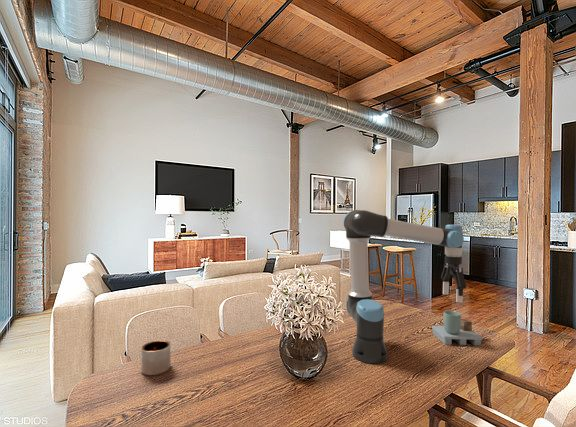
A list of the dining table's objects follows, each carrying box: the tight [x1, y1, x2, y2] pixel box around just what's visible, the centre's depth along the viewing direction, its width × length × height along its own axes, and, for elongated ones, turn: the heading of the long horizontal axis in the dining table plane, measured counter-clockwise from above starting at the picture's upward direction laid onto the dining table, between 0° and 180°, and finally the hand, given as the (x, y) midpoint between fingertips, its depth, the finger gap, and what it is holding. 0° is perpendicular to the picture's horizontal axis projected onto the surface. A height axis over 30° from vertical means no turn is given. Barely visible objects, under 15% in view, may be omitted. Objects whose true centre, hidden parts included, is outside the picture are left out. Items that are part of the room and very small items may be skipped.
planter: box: [140, 339, 171, 377], centre depth 125 cm, size 11×11×10 cm
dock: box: [431, 325, 483, 346], centre depth 157 cm, size 18×14×4 cm
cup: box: [442, 309, 462, 334], centre depth 155 cm, size 8×8×10 cm
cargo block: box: [461, 318, 473, 331], centre depth 160 cm, size 4×4×4 cm
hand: (452, 298), depth 155 cm, fingers open, 13 cm apart
